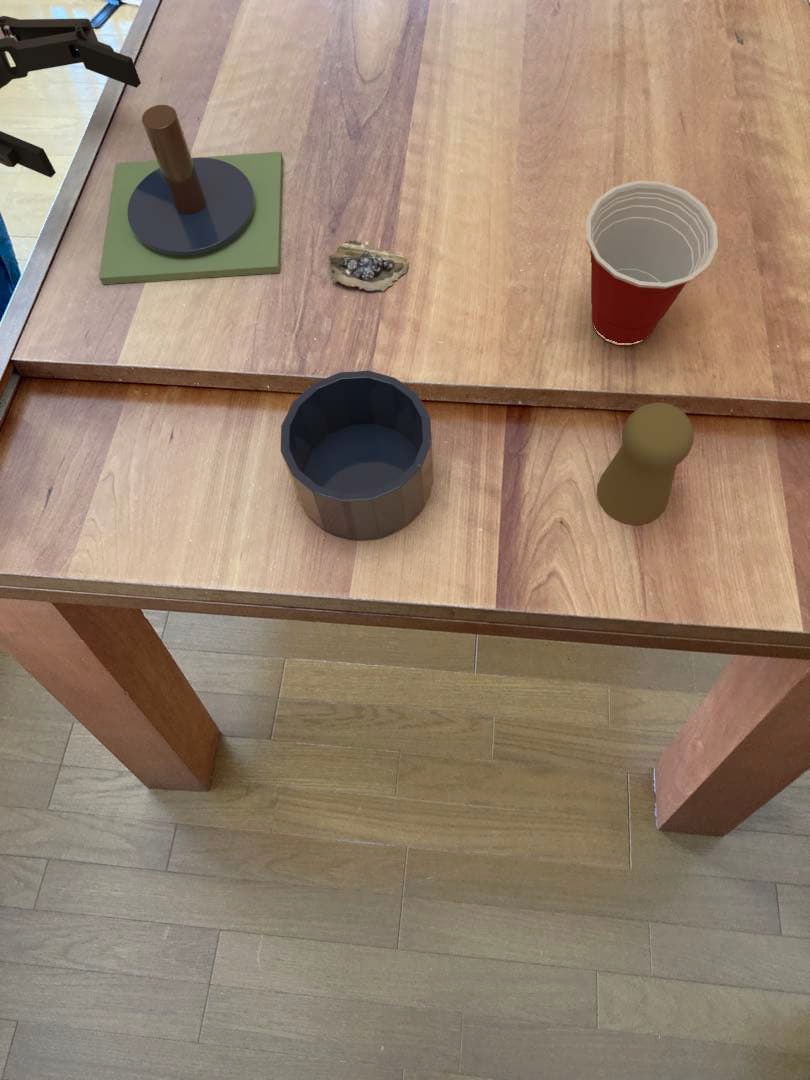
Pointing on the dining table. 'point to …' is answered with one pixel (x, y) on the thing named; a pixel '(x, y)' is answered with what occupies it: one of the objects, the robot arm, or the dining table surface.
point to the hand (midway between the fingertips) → (92, 117)
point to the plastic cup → (644, 254)
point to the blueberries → (366, 266)
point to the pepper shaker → (645, 464)
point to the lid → (186, 194)
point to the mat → (237, 257)
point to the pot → (359, 454)
